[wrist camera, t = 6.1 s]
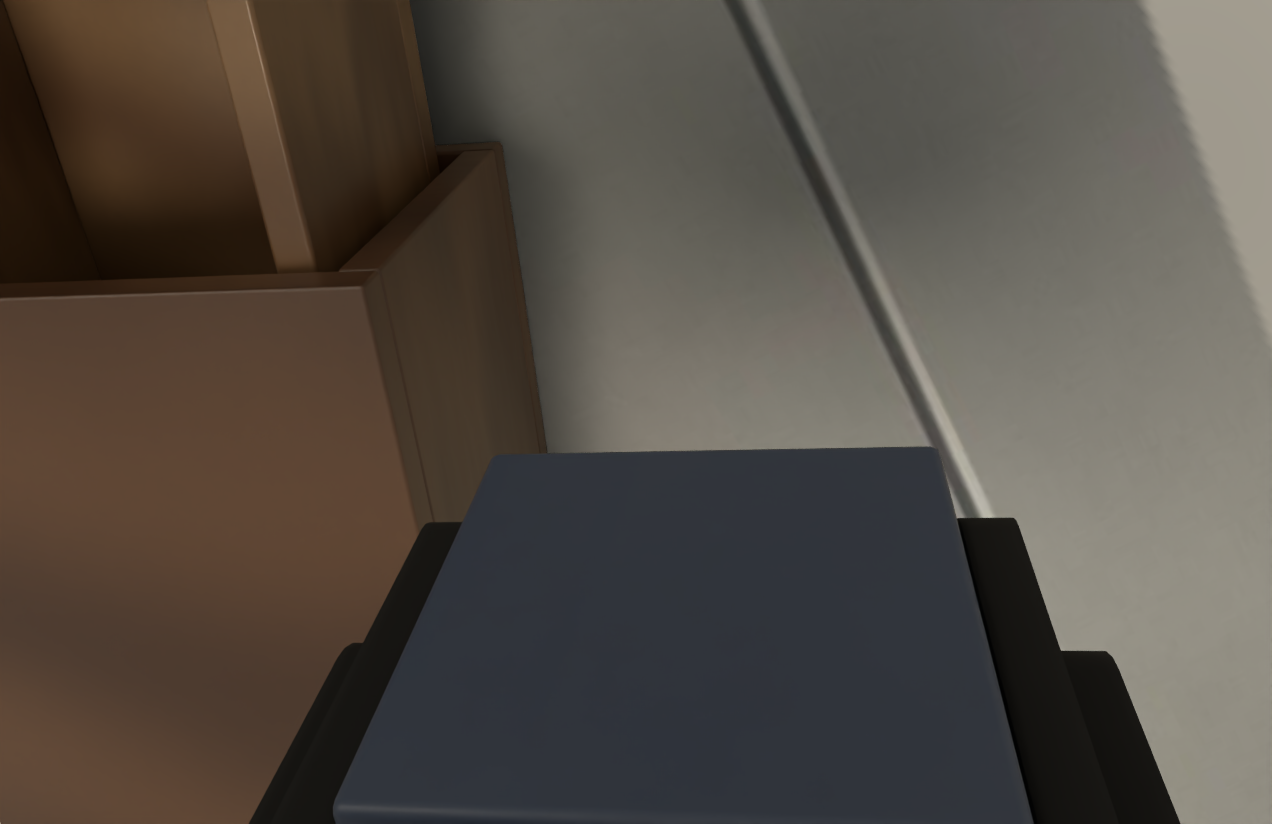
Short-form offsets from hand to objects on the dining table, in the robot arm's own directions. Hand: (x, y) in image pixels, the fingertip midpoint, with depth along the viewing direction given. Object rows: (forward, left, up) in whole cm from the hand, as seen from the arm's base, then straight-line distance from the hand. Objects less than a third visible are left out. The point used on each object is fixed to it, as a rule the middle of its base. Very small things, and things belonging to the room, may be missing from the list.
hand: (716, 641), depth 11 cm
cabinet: (+13, -4, -16) cm, 22 cm away
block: (0, 0, 0) cm, 0 cm away
